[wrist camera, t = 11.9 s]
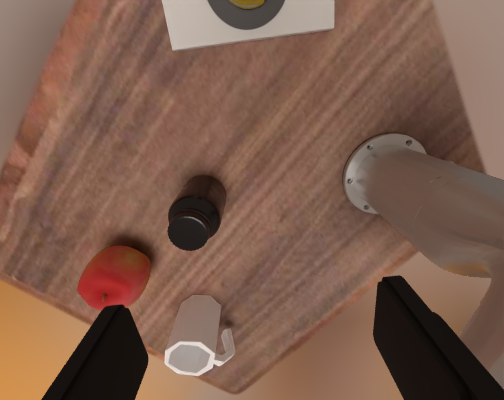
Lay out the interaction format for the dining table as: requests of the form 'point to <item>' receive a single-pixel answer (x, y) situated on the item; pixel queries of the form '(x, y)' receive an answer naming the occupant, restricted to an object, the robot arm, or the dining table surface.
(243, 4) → the pill bottle
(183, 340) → the mug
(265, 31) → the board
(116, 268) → the apple
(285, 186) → the dining table surface
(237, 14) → the pad
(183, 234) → the supplement bottle
